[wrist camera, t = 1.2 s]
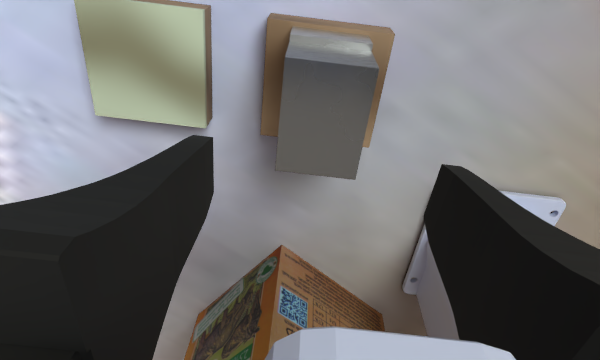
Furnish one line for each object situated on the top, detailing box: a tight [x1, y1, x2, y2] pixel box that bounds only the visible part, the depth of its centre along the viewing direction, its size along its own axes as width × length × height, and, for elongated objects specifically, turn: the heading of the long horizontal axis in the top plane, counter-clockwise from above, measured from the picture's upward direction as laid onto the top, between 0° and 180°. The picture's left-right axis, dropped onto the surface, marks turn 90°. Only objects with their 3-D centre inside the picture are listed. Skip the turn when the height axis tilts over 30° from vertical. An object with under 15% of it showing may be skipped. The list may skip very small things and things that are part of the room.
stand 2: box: [261, 13, 395, 148], centre depth 20 cm, size 6×6×2 cm
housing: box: [275, 26, 379, 180], centre depth 18 cm, size 6×4×4 cm, turn 174°
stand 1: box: [74, 0, 212, 128], centre depth 20 cm, size 6×6×2 cm
